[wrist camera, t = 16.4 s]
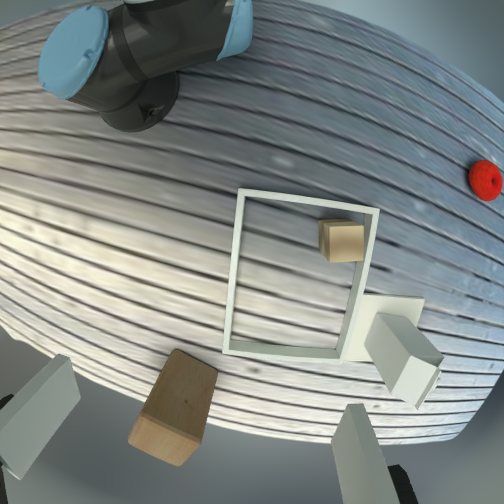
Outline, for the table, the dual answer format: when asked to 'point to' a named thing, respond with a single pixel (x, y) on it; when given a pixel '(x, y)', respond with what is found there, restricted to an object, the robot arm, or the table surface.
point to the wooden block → (175, 410)
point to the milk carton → (403, 358)
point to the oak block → (341, 240)
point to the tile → (383, 305)
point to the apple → (485, 180)
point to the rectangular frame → (353, 303)
